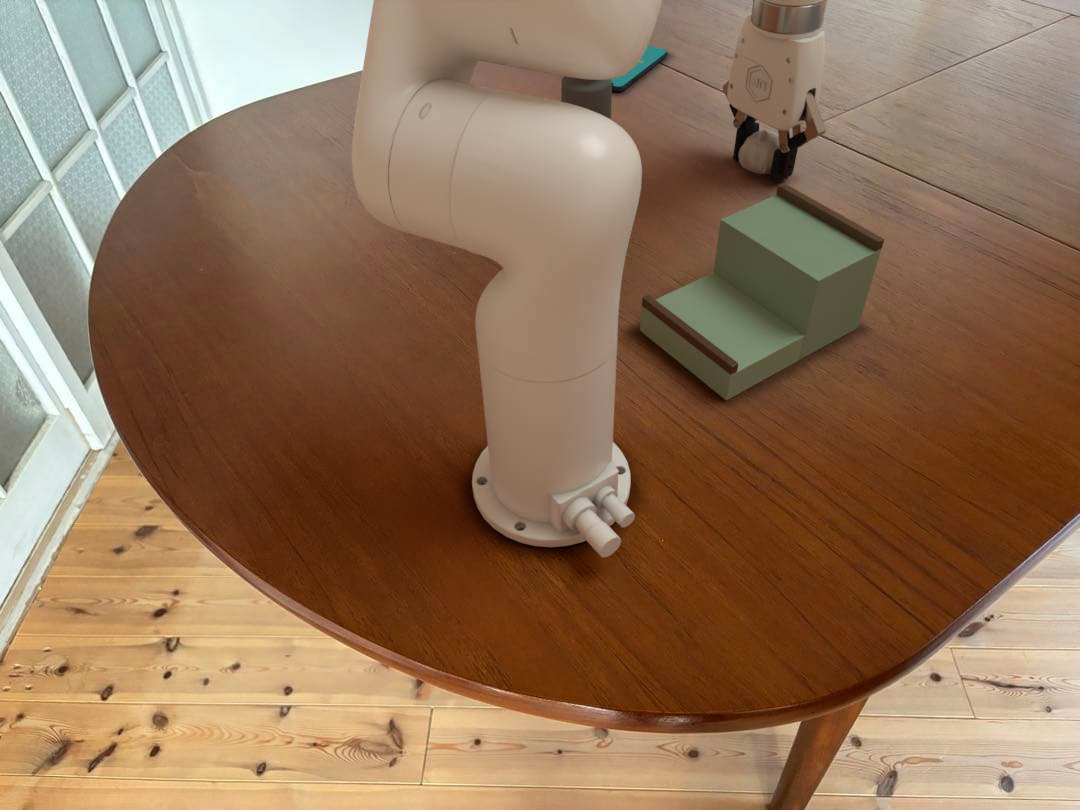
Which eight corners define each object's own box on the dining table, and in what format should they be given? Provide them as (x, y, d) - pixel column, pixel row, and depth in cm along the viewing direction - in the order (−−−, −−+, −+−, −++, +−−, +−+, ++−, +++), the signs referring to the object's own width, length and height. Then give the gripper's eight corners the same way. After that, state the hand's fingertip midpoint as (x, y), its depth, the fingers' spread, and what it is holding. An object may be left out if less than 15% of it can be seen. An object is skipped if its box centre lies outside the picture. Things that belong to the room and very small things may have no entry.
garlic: (751, 185, 101) (758, 144, 97) (728, 165, 105) (733, 124, 101) (795, 175, 102) (803, 134, 99) (770, 154, 106) (777, 114, 102)
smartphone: (670, 49, 128) (621, 86, 119) (669, 54, 128) (621, 92, 119) (626, 40, 131) (576, 76, 122) (626, 46, 131) (576, 82, 122)
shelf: (858, 328, 82) (884, 239, 75) (726, 400, 75) (741, 310, 68) (767, 268, 89) (783, 182, 82) (639, 330, 82) (645, 242, 75)
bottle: (553, 169, 105) (551, 46, 94) (574, 148, 109) (575, 27, 98) (597, 180, 103) (599, 55, 92) (617, 158, 106) (621, 35, 96)
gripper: (706, -3, 94) (690, 149, 107) (825, 46, 84) (792, 208, 97) (756, -18, 97) (735, 132, 110) (876, 27, 87) (838, 187, 100)
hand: (762, 166), depth 103 cm, fingers closed on garlic, 5 cm apart
